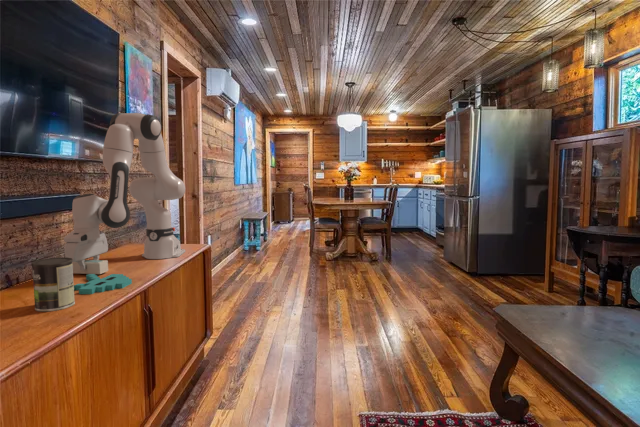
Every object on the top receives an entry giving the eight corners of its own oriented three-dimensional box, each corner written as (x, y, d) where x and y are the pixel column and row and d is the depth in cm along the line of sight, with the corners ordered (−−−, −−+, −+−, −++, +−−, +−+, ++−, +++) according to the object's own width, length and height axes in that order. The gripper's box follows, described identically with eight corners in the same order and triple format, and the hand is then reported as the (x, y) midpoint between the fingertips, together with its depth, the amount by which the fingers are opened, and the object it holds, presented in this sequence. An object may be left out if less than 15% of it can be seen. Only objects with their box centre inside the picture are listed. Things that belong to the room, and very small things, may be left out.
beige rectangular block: (70, 273, 154) (69, 261, 154) (79, 270, 159) (78, 259, 159) (100, 274, 153) (99, 262, 152) (108, 270, 158) (107, 259, 157)
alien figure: (53, 295, 130) (111, 295, 129) (52, 288, 129) (111, 289, 129) (89, 279, 149) (140, 279, 149) (89, 273, 149) (140, 274, 149)
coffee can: (38, 314, 110) (34, 266, 109) (32, 306, 117) (28, 260, 116) (79, 306, 117) (76, 260, 116) (71, 298, 125) (68, 255, 123)
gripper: (97, 230, 165) (99, 261, 167) (60, 238, 145) (62, 274, 146) (111, 230, 164) (112, 262, 166) (75, 238, 144) (78, 274, 146)
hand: (89, 267), depth 156 cm, fingers closed on beige rectangular block, 5 cm apart
